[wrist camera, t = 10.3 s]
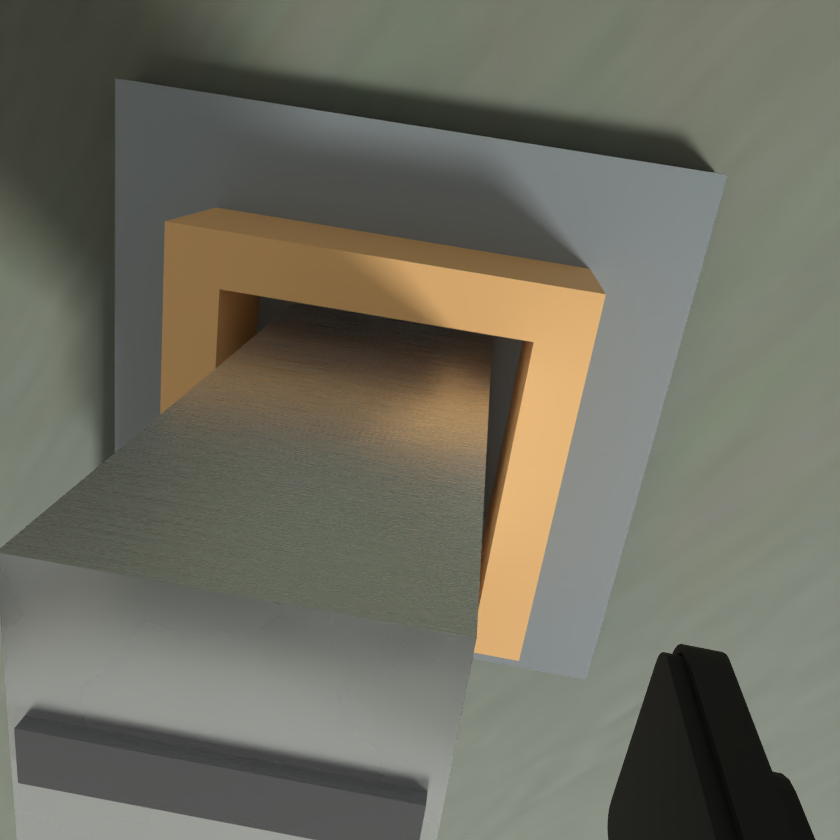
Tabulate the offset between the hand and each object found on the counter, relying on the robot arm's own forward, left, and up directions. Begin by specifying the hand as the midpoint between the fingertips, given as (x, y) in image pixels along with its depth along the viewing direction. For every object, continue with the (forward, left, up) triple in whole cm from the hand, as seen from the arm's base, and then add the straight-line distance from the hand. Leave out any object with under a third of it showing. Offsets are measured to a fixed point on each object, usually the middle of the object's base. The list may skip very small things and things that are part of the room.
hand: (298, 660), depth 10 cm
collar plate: (0, 0, -11) cm, 11 cm away
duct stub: (0, 0, -10) cm, 10 cm away
